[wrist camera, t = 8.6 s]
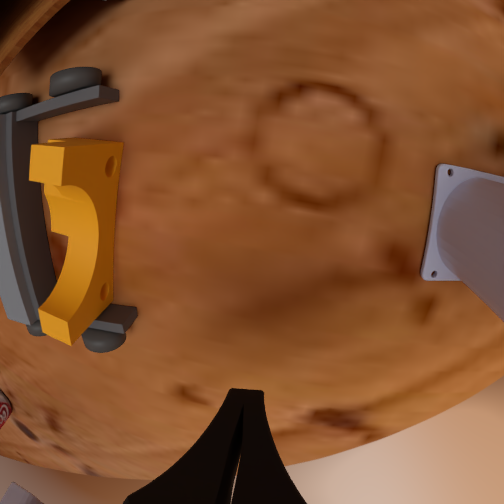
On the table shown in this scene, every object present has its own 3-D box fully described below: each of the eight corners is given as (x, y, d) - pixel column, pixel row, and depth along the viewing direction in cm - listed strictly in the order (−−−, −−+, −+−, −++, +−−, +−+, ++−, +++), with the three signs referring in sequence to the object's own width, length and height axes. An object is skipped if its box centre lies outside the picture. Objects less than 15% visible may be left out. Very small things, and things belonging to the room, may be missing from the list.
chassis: (120, 70, 16) (86, 59, 12) (140, 330, 22) (120, 361, 19) (3, 109, 17) (-30, 111, 13) (31, 309, 23) (7, 329, 20)
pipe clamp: (76, 137, 18) (13, 143, 12) (125, 142, 18) (64, 147, 12) (72, 284, 22) (25, 323, 16) (114, 299, 22) (71, 345, 16)
